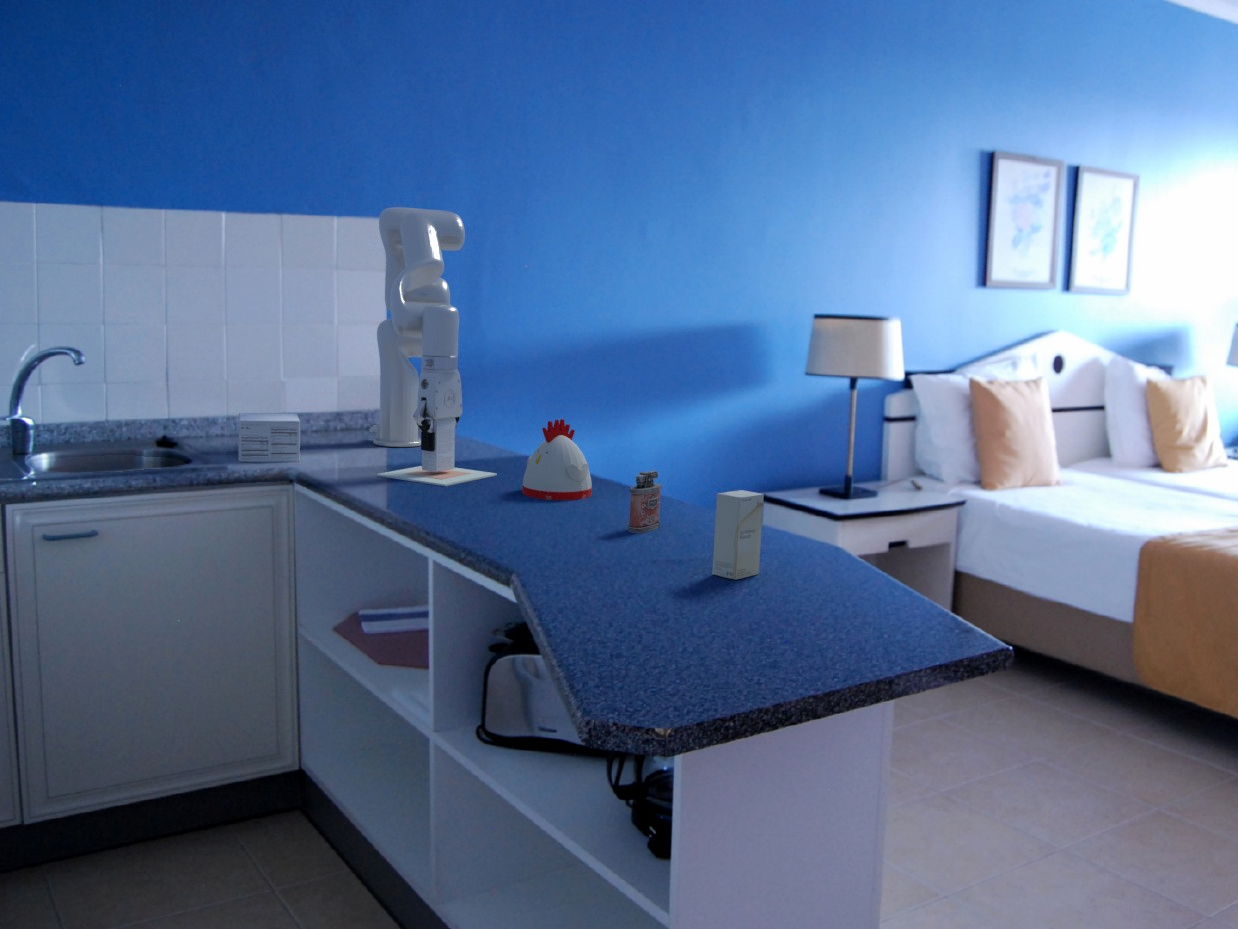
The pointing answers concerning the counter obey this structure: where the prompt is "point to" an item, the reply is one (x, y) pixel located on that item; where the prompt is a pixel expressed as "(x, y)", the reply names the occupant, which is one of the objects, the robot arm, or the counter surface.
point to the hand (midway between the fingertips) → (438, 448)
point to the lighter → (645, 503)
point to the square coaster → (437, 475)
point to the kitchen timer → (557, 467)
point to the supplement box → (269, 437)
